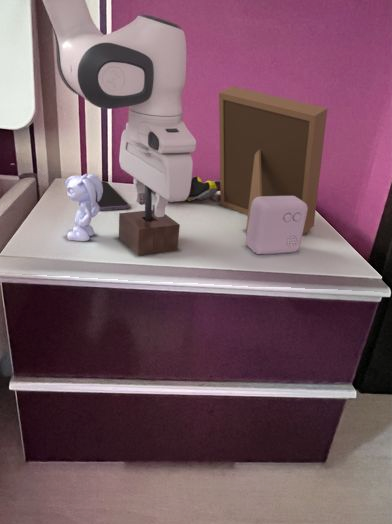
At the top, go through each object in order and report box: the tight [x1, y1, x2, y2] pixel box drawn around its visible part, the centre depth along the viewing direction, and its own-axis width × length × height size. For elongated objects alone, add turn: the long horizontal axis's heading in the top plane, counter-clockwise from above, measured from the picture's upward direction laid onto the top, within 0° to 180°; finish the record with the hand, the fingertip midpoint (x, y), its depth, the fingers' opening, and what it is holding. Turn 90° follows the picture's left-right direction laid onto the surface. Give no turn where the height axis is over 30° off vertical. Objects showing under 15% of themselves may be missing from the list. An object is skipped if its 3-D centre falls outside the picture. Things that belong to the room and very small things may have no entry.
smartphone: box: [95, 180, 129, 211], centre depth 123 cm, size 7×1×15 cm
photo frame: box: [218, 85, 328, 236], centre depth 114 cm, size 15×22×25 cm
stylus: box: [144, 185, 153, 222], centre depth 101 cm, size 1×1×14 cm
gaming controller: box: [152, 175, 218, 202], centre depth 127 cm, size 15×6×10 cm
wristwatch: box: [210, 180, 220, 202], centre depth 132 cm, size 4×6×5 cm
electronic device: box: [245, 196, 308, 255], centre depth 106 cm, size 10×5×10 cm, turn 111°
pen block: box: [118, 210, 181, 257], centre depth 103 cm, size 8×8×5 cm
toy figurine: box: [64, 173, 103, 242], centre depth 101 cm, size 7×6×12 cm
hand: (149, 209), depth 101 cm, fingers open, 5 cm apart
